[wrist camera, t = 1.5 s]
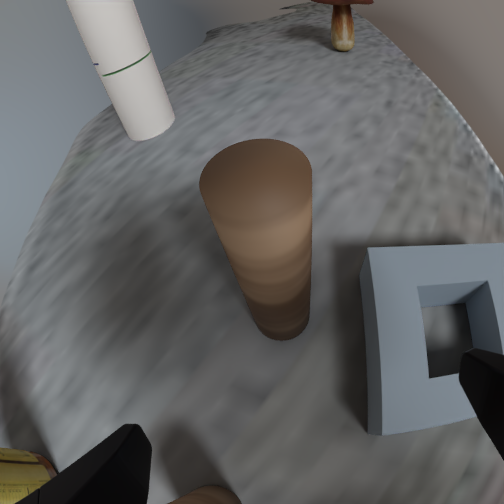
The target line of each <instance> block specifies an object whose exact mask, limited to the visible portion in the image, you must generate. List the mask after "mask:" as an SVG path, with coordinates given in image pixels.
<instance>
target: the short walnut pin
mask: <svg viewBox="0 0 504 504" xmlns="http://www.w3.org/2000/svg"><path fill="white" fill-rule="evenodd" d="M168 504H242V503H241V501H240V500H239V498H238V497H237V496H236V495H235V494H234V493H233V492H231V491H230V490H228V489H226V488H223V487H220V486H213V485H210V486H203V487H200V488H198V489H196V490H194V491H192V492H190V493H188V494H186V495H184V496H182V497H180V498H178V499H176V500H174V501H172V502H170V503H168Z"/></svg>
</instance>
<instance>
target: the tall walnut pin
mask: <svg viewBox="0 0 504 504" xmlns="http://www.w3.org/2000/svg"><path fill="white" fill-rule="evenodd" d="M199 187H200V192H201V195H202V197H203V200H204V202H205V205H206V207H207V210H208V212H209V214H210V217H211V219H212V222H213V224H214V226H215V229H216V231H217V234H218V236H219V238H220V241H221V243H222V245H223V248H224V250H225V253H226V255H227V257H228V260H229V262H230V264H231V267H232V269H233V271H234V274H235V276H236V278H237V281H238V283H239V285H240V288H241V290H242V292H243V295H244V297H245V299H246V301H247V304H248V306H249V308H250V311H251V313H252V315H253V317H254V320H255V322H256V324H257V326H258V328H259V330H260V331H261V332H262V333H263V334H264V335H265V336H267V337H268V338H271V339H274V340H279V341H283V340H289V339H292V338H294V337H296V336H298V335H299V334H300V333H302V331H303V330H304V329H305V328H306V326H307V324H308V321H309V313H310V290H311V257H312V169H311V165H310V162H309V160H308V158H307V157H306V156H305V154H304V153H303V152H302V151H300V150H299V149H298V148H296V147H295V146H293V145H291V144H289V143H286V142H283V141H279V140H274V139H252V140H247V141H243V142H239V143H236V144H234V145H231V146H229V147H227V148H225V149H223V150H222V151H220V152H219V153H218V154H216V155H215V156H214V157H213V158H212V159H211V160H210V161H209V162H208V163H207V164H206V166H205V167H204V169H203V171H202V173H201V177H200V182H199Z"/></svg>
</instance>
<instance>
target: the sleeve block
mask: <svg viewBox="0 0 504 504" xmlns="http://www.w3.org/2000/svg"><path fill="white" fill-rule="evenodd" d="M359 278H360V287H361V296H362V307H363V318H364V330H365V345H366V362H367V390H368V434H372V435H381V436H383V435H391V434H398V433H404V432H410V431H416V430H422V429H427V428H432V427H437V426H441V425H446V424H450V423H454V422H458V421H462V420H466V419H470V418H473V417H477V416H476V414H475V412H474V410H473V408H472V406H471V404H470V402H469V400H468V398H467V396H466V394H465V392H464V390H463V388H462V387H461V385H460V382H459V377H458V375H459V373H458V374H453V375H447V376H442V377H436V378H430V379H429V373H428V361H427V351H426V342H425V334H424V327H423V320H422V313H421V307H430V306H441V305H450V304H459V303H465V304H466V309H467V314H468V319H469V324H470V330H471V336H472V343H473V348H478V349H482V350H486V351H490V352H495V353H499V354H503V355H504V243H489V244H460V245H430V246H401V247H371V248H367V252H366V255H365V258H364V261H363V265H362V268H361V271H360V274H359Z"/></svg>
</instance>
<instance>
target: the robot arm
mask: <svg viewBox="0 0 504 504" xmlns="http://www.w3.org/2000/svg"><path fill="white" fill-rule="evenodd" d="M458 377H459V382H460V385H461V387H462V388H463V390H464V392H465V394H466V396H467V398H468V400H469V402H470V404H471V406H472V408H473V410H474V412H475V414H476V416H477V418H478V420H479V421H480V423H481V425H482V426H483V428H484V429H485V431H486V433H487V434H488V436H489V437H490V439H491V441H492V442H493V444H494V445H495V447H496V449H497V450H498V452H499V454H500V455H501V457H502V459H503V460H504V355H503V354H499V353H495V352H490V351H486V350H482V349H478V348H472V349H470V350H468V351H465V352H464V353H463V354H462V356H461V362H460V369H459V375H458ZM151 456H152V447H151V444H150V442H149V440H148V438H147V437H146V435H145V433H144V432H143V430H142V428H141V427H140V426H139V425H138V424H124V425H123V426H121V427H120V428H119V429H117V430H116V431H115V432H114V433H112V434H111V435H110V436H108V437H107V438H106V439H105V440H103V441H102V442H101V443H99V444H98V445H97V446H95V447H94V448H93V449H91V450H90V451H89V452H88V453H86V454H85V455H84V456H82V457H81V458H79V459H78V460H77V461H75V462H74V463H73V464H71V465H70V466H69V467H67V468H66V469H65V470H63V471H62V472H60V473H59V474H58V475H56V476H55V477H53V478H52V479H51V480H49V481H48V482H46V483H45V484H43V485H42V486H41V487H40V488H38V489H36V490H35V491H33V492H32V493H30V494H29V495H27V496H26V497H24V498H23V499H21V500H20V501H18V502H16V503H14V504H147V499H148V492H149V480H150V467H151Z"/></svg>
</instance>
